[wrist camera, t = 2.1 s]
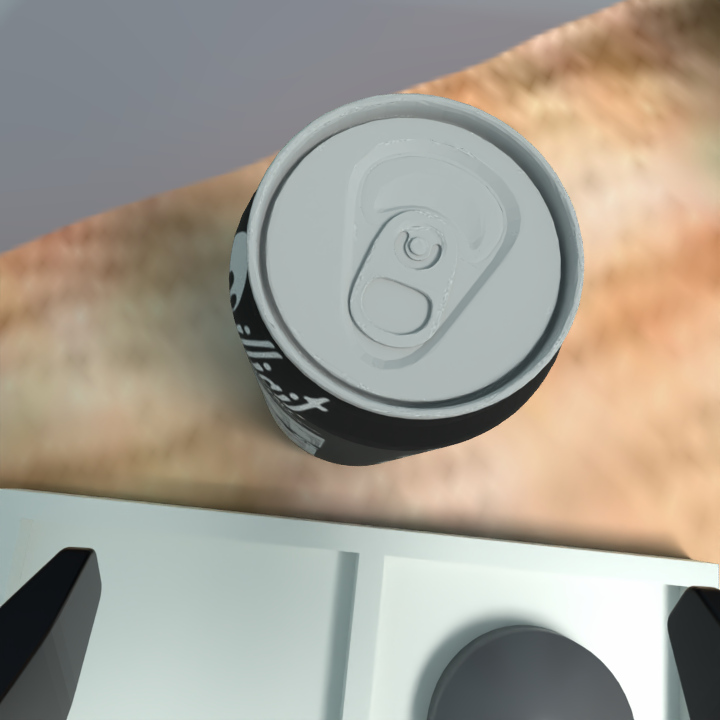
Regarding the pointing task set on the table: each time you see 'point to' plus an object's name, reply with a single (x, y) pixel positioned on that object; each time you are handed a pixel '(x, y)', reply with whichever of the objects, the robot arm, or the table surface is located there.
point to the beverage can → (403, 277)
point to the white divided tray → (351, 617)
